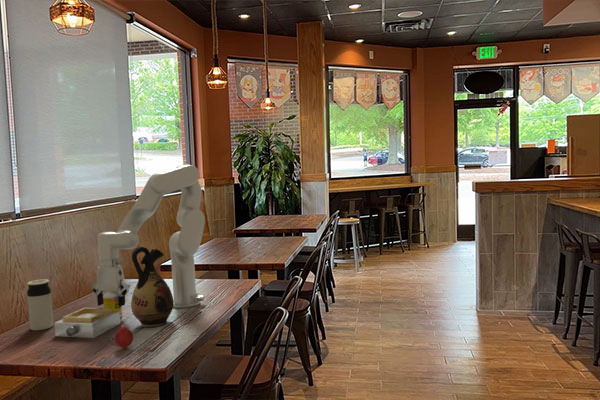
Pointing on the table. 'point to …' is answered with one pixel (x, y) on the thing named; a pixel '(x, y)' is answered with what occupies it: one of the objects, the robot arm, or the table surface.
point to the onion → (123, 337)
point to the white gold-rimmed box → (87, 322)
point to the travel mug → (40, 305)
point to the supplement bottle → (112, 301)
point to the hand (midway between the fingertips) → (111, 305)
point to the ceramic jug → (150, 291)
